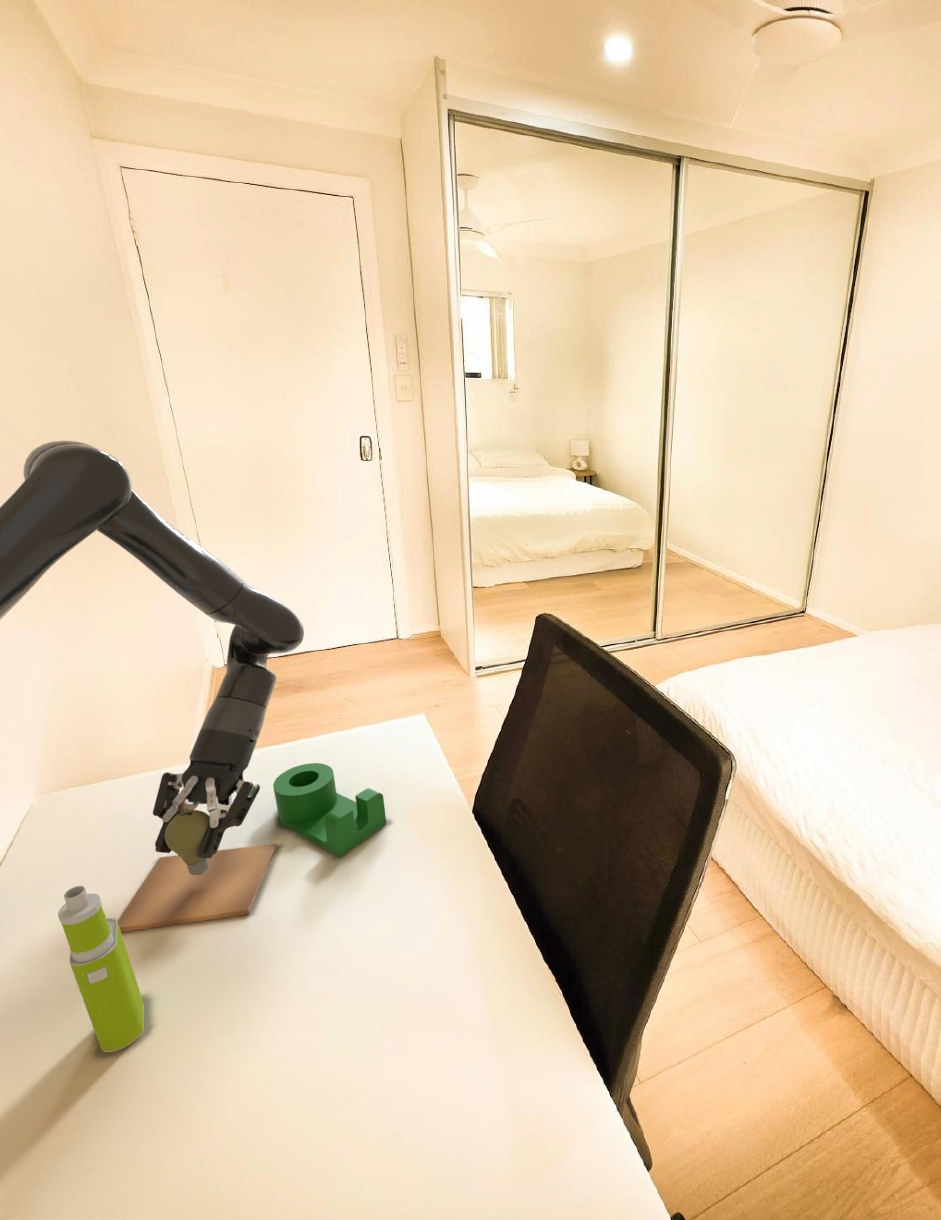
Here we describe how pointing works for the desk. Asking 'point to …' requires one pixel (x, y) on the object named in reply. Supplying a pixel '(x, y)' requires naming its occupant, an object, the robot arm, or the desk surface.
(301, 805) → the slotted cylinder bracket
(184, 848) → the light bulb
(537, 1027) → the desk surface
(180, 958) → the desk surface
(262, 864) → the brown wooden board
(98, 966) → the vape
